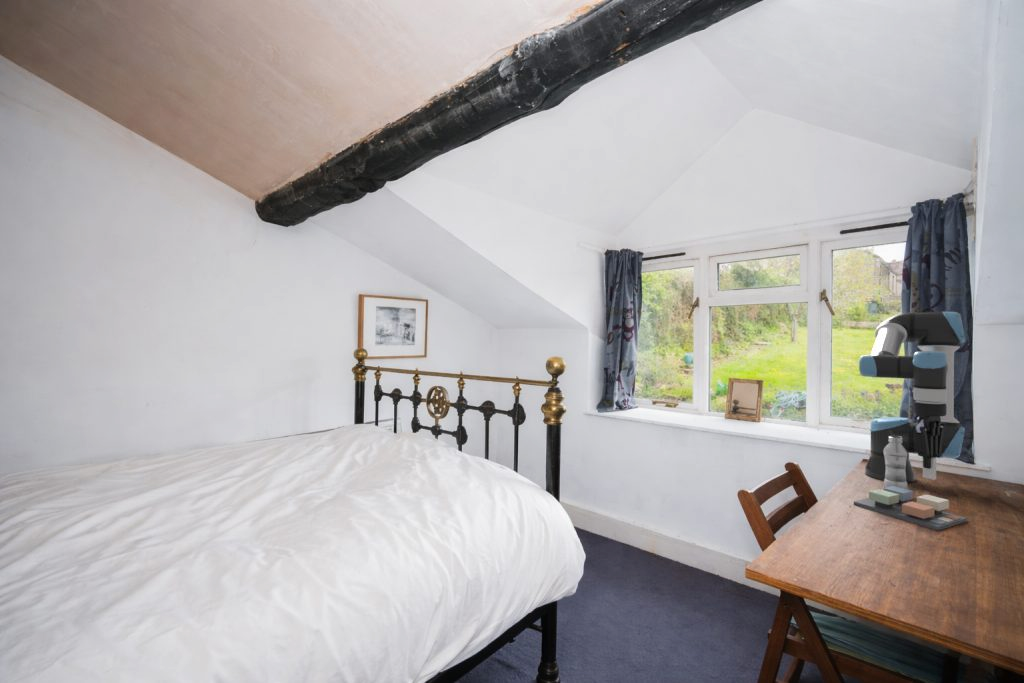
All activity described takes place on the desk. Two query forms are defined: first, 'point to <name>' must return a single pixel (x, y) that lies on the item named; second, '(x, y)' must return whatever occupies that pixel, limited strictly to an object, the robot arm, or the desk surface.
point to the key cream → (933, 502)
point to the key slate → (900, 492)
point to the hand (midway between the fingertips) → (929, 478)
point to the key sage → (884, 496)
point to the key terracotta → (918, 510)
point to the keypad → (895, 510)
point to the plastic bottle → (895, 463)
